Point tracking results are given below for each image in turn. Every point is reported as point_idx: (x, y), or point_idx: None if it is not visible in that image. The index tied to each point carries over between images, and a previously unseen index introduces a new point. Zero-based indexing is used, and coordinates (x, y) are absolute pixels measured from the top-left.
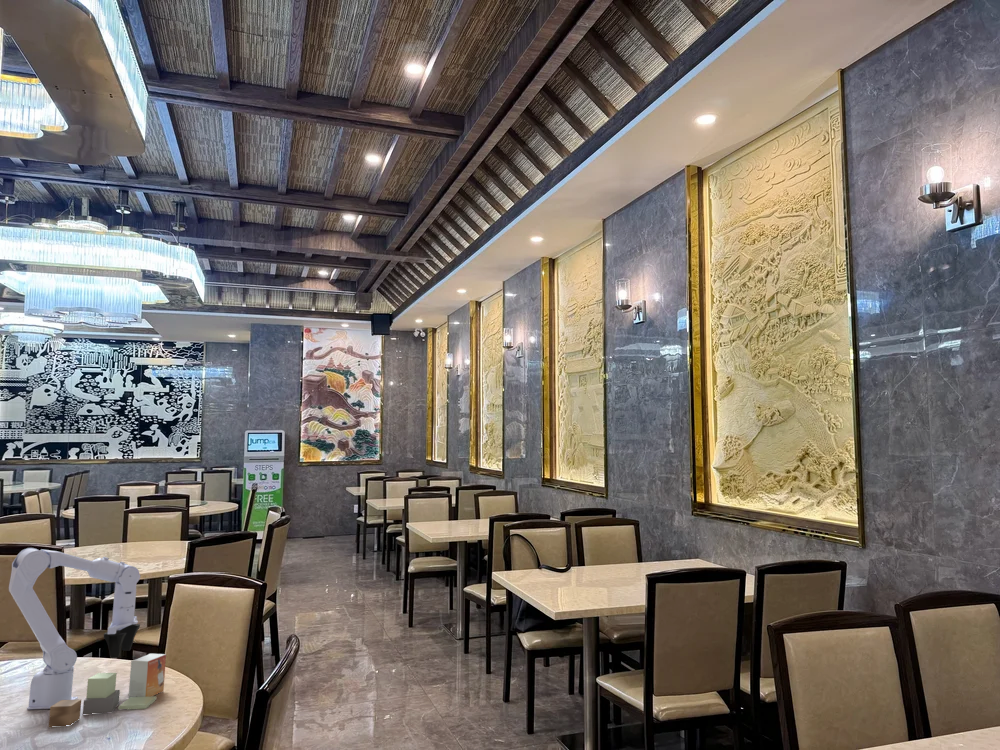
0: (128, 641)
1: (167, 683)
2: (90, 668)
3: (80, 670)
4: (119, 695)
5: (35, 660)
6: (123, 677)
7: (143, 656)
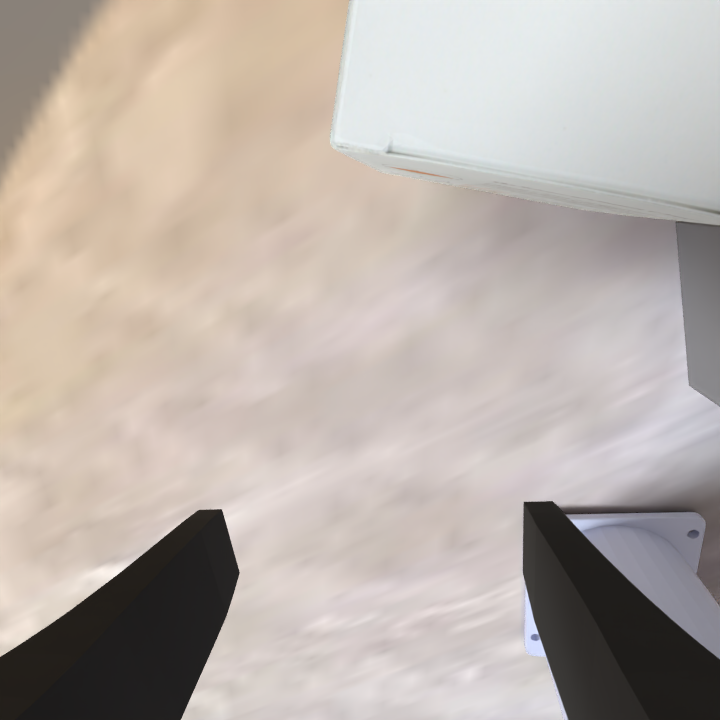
0: (166, 624)
1: (214, 98)
2: None
3: None
4: (715, 226)
5: None
6: (147, 462)
7: (517, 161)
